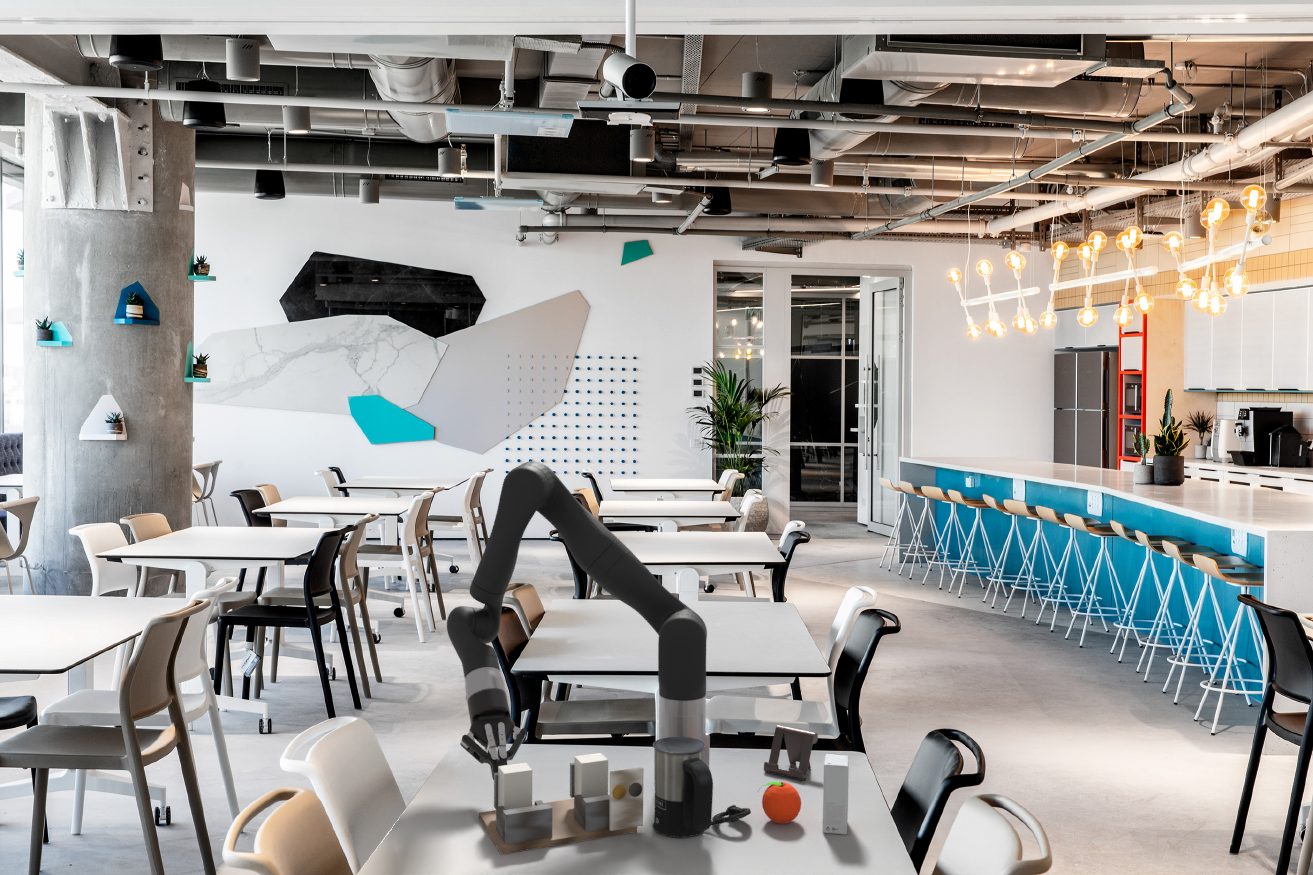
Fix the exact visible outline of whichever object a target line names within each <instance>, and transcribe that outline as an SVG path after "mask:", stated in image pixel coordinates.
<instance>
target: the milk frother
mask: <svg viewBox="0 0 1313 875" xmlns="http://www.w3.org/2000/svg"><path fill="white" fill-rule="evenodd" d="M705 746H706V745H705V743H704V742H703V741H701V740H698V739H695V738H690V737H668V738H662V739H659V738H658V739H656V740H655V741H654V742H653V743H652V748H653V749H654V760H653V761H654V771H653V772H654V775H653V776H654V811H653V812H654V815H653V823H652V829H653V830H654V832H656V833H657V834H659V835H662V836H665V837H669V838H691V837H695V836H698V835H700V834H701V833H703V832H704V831H706V830H708V829H710V828H711V827H712V826H715V825H721V824H725V823H729V822H731V823H734V822H736V821H738V820H740V819H744V818H745V817H747V816H749V815H750V814H751V813H752V812H751V808H748V807H739V806H737V805H735V804H733V805H730V806H728V807H727V808H725V811H722V812H720V813H717V814H715V815H714V816H713V817H712V812H713V810H712V809H713V794H714V792H713V790H714V782H713V775H712V772H711V769H710V766H709V767H708V766H707V764H706V763H705V762H704V748H705Z"/></svg>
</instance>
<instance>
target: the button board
mask: <svg viewBox="0 0 1313 875" xmlns="http://www.w3.org/2000/svg"><path fill="white" fill-rule="evenodd" d="M644 772H645V771H644V767H643V766H641V767H635V768H626V769H620V770H618V769H617V770H613V771H612V770H611V771H609V794H608V795H604V796H598V797H591V798H584V797H583V796H582V795H581V794H580V795H574V798H567V799H562V800H554V801H549V802H544V801H543V800H534V803H532V806H530V807H523V808H516V809H510V810H506V809H505V808H504V806H497V807H496V809H493V810H487V811H486V810H485V811H480V812H478V819H479V821H480V823H481V824H482V825H483V828H484V830H485V831H486V833H487V834H488V836H489V838H490V839H491V838H492V839H491V840H492V841H493V843H494V845H495V846H497V847H496V848H497V851H499V852H500V855H505V854H512V853H518V852H524V851H529V850H536V849H541V848H549V847H554V846H560V845H565V844H572V843H578V842H584V841H591V840H597V839H602V838H608V837H615V836H621V835H627V834H633V833H638V827H642V826H644V776H645V775H644Z"/></svg>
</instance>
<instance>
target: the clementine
mask: <svg viewBox="0 0 1313 875" xmlns="http://www.w3.org/2000/svg"><path fill="white" fill-rule="evenodd" d="M765 786H768V787H767V788H765V790H764V793H763V795H762V797H761V799H762V800H761V804H762V809H763V811H764V814H765V816H767V818H768V819H769V820H771V821H772V822H774V823H777V824H789V823H790V822H792V821H794V820H795V819H796V818H797V817H798V815H799V813H800V812H801V808H802V798H801V795H800V794H799V791H798V790H797V788H796V787H794V786H793V785H792V784H790V783H788V782H785V781H771V782H766V783H765V784H762V787H765ZM759 791H760V789H758V791H757V792H759Z"/></svg>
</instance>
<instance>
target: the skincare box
mask: <svg viewBox="0 0 1313 875" xmlns="http://www.w3.org/2000/svg"><path fill="white" fill-rule="evenodd" d="M849 763H850V762H849V755H844V754H843V755H842V754H841V755H840V754H832V753H831V754H830V753H826V754H825V755H824V762H823V764H824V765H823V792H822V793H823V794H822V795H823V797H822V798H823V804H822V805H823V806H822V833H826V834H836V835H845V836H846V835H847V834H848V815H849V812H848V811H849V775H850V774H849V772H850V771H849V770H850V769H849Z"/></svg>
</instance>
